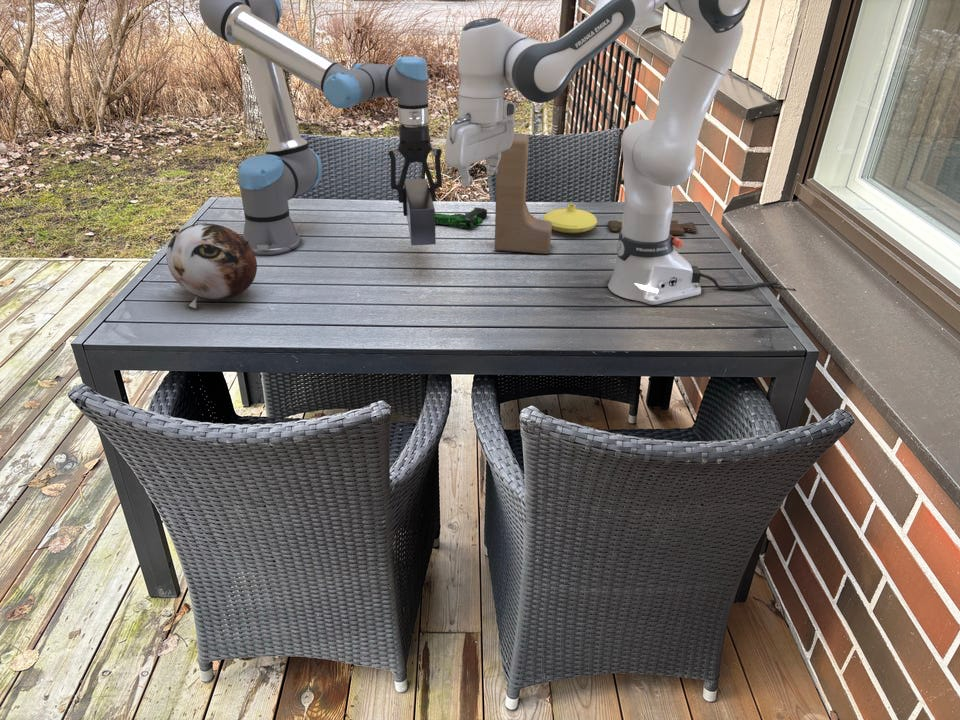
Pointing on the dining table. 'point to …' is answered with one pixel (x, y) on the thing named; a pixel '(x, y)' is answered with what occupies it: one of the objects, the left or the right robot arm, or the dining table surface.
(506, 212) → the decorative block
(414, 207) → the bar
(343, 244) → the dining table surface
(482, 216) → the handgun
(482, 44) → the right robot arm
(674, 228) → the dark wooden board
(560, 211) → the yellow lid
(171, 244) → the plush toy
